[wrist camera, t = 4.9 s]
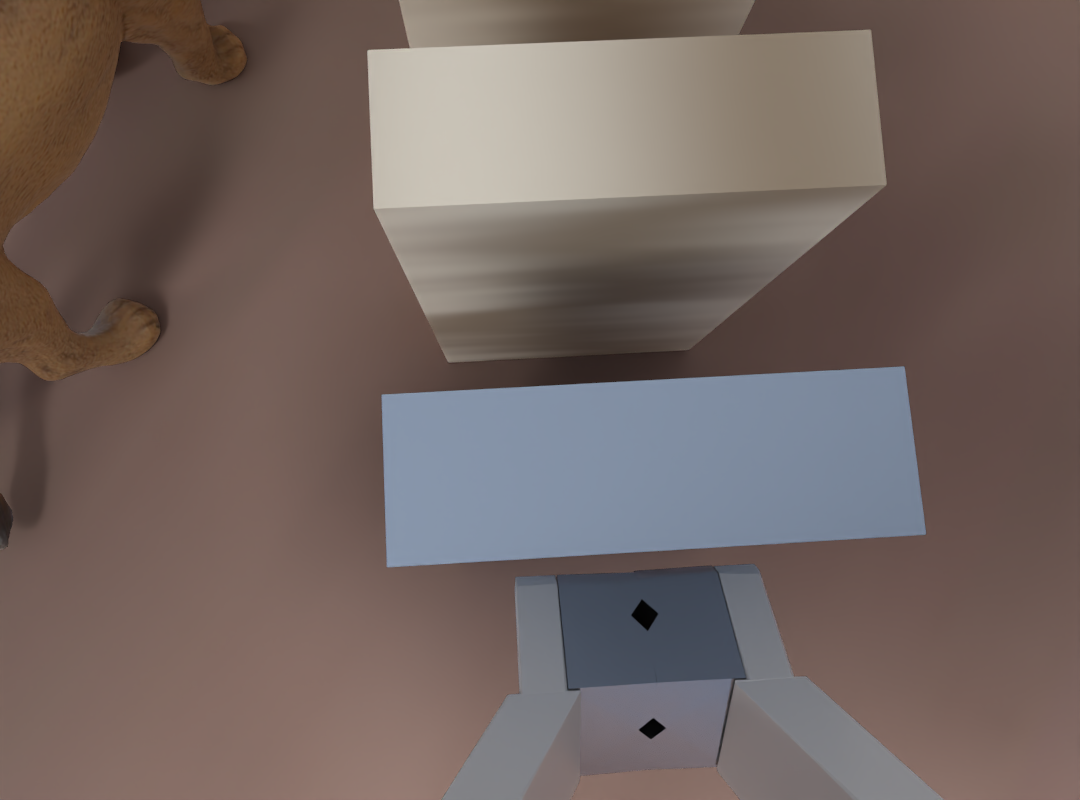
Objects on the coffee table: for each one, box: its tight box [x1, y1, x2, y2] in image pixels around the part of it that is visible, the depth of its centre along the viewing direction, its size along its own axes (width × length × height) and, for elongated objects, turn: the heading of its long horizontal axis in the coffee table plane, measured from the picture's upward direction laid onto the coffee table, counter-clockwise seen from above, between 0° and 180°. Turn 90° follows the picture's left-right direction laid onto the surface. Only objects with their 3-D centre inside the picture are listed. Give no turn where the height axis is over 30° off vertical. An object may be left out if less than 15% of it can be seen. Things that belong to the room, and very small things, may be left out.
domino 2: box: [367, 30, 887, 363], centre depth 14 cm, size 5×2×10 cm, turn 93°
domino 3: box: [382, 366, 926, 567], centre depth 13 cm, size 5×2×10 cm, turn 93°
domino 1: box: [399, 0, 755, 48], centre depth 14 cm, size 5×2×10 cm, turn 93°
